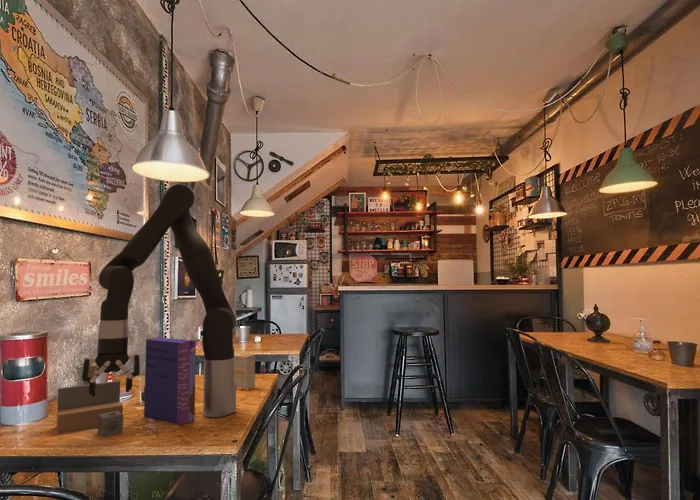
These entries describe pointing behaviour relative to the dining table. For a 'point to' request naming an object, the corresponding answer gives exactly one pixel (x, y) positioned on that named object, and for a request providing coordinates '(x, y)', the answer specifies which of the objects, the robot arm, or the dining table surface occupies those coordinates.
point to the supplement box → (244, 371)
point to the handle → (90, 371)
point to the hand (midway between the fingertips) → (110, 393)
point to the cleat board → (86, 405)
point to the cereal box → (170, 380)
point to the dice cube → (110, 423)
